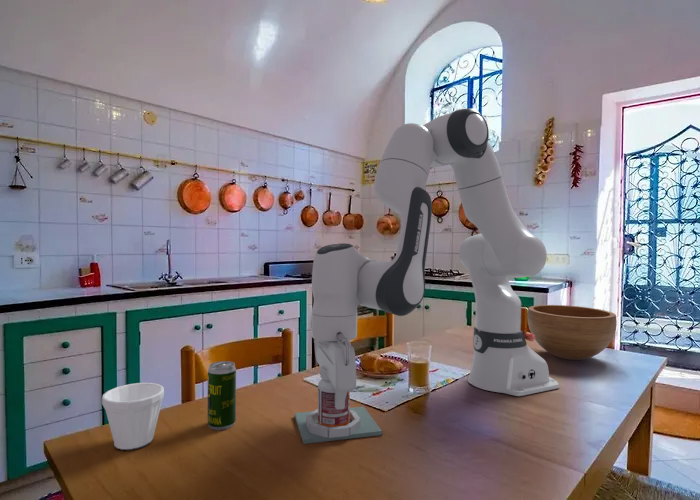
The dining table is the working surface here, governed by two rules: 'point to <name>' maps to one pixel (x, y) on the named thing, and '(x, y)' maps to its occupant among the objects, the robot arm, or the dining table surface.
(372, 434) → the collar board
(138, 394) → the cup
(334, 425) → the pill bottle
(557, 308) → the bowl
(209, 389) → the green soda can
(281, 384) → the dining table surface
